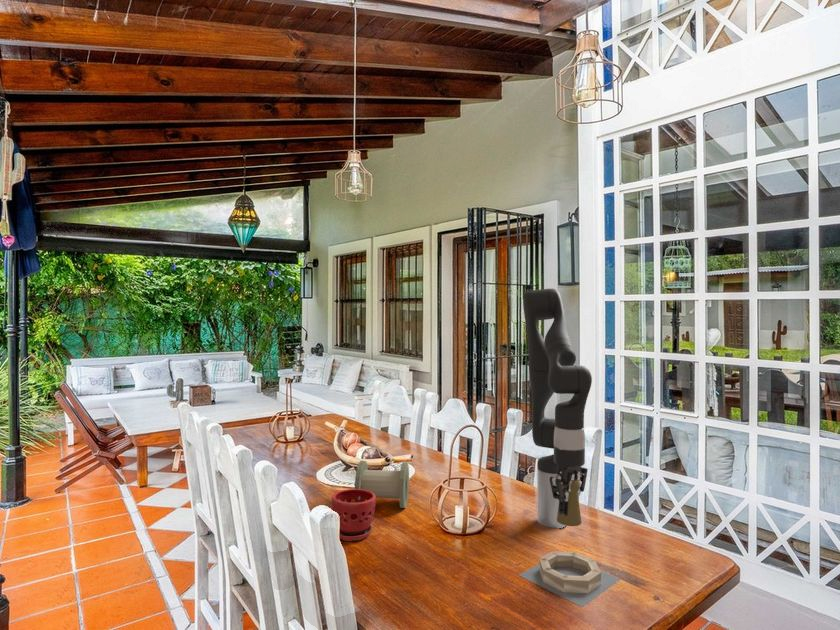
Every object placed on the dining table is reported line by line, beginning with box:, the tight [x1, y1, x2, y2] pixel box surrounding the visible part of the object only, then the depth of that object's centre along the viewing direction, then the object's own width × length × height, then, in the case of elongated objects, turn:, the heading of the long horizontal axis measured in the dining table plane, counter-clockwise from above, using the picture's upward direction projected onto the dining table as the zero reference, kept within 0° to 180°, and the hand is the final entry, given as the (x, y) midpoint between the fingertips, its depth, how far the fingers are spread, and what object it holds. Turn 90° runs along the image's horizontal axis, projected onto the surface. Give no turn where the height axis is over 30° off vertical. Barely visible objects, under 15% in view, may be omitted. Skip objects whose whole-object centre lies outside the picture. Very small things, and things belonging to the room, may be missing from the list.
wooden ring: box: [538, 551, 602, 593], centre depth 126 cm, size 14×14×3 cm
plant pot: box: [331, 488, 377, 542], centre depth 151 cm, size 13×13×12 cm
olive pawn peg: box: [557, 479, 582, 527], centre depth 126 cm, size 6×6×11 cm
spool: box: [354, 460, 410, 509], centre depth 173 cm, size 16×15×15 cm
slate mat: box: [518, 563, 621, 608], centre depth 126 cm, size 18×18×1 cm
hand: (568, 512), depth 126 cm, fingers closed on olive pawn peg, 4 cm apart
